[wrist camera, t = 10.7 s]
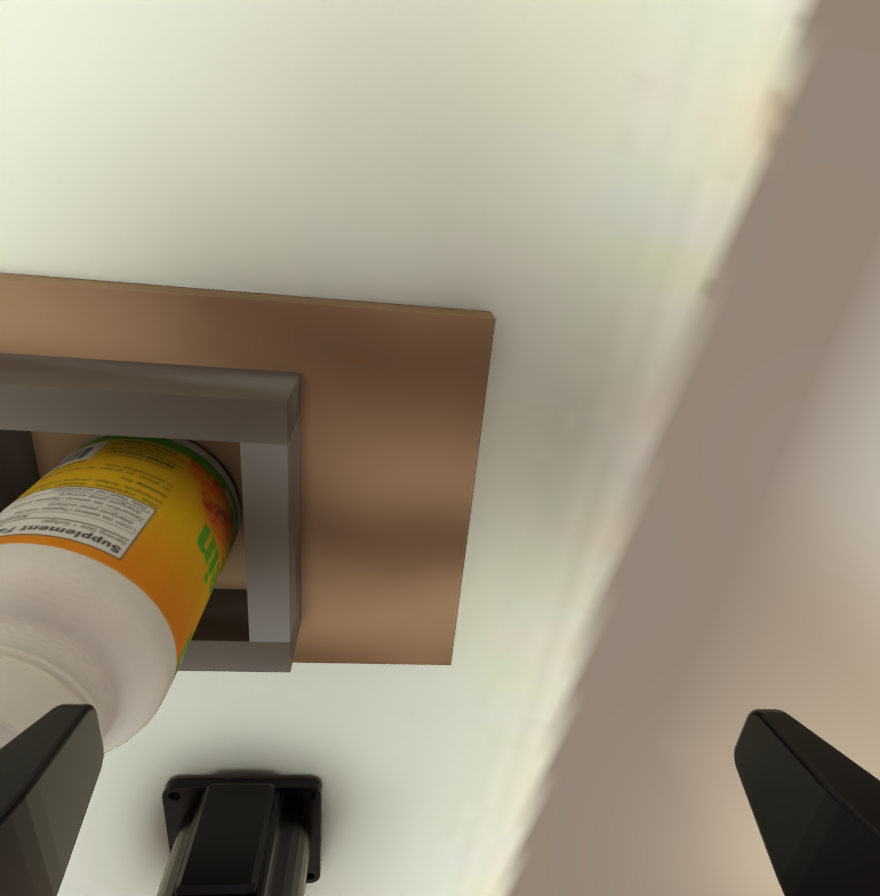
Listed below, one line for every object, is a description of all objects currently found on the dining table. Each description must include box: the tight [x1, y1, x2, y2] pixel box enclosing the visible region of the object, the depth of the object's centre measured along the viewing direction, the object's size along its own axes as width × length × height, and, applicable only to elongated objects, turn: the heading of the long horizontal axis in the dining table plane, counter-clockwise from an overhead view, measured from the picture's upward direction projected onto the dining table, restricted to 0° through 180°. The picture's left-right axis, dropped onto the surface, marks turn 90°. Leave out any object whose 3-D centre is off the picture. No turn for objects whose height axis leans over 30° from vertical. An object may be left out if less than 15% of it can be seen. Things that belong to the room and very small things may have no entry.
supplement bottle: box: [0, 435, 240, 753], centre depth 14 cm, size 5×5×10 cm
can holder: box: [0, 273, 495, 672], centre depth 18 cm, size 13×20×4 cm, turn 85°
